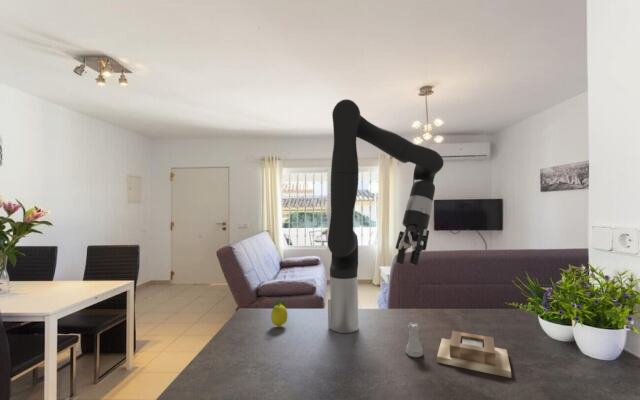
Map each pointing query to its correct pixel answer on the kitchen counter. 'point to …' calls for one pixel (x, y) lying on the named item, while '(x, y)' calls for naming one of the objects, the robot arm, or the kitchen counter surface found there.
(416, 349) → the rook chess piece
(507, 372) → the press socket
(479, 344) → the plate
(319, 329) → the kitchen counter surface
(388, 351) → the kitchen counter surface
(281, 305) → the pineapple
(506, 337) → the kitchen counter surface
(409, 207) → the robot arm
